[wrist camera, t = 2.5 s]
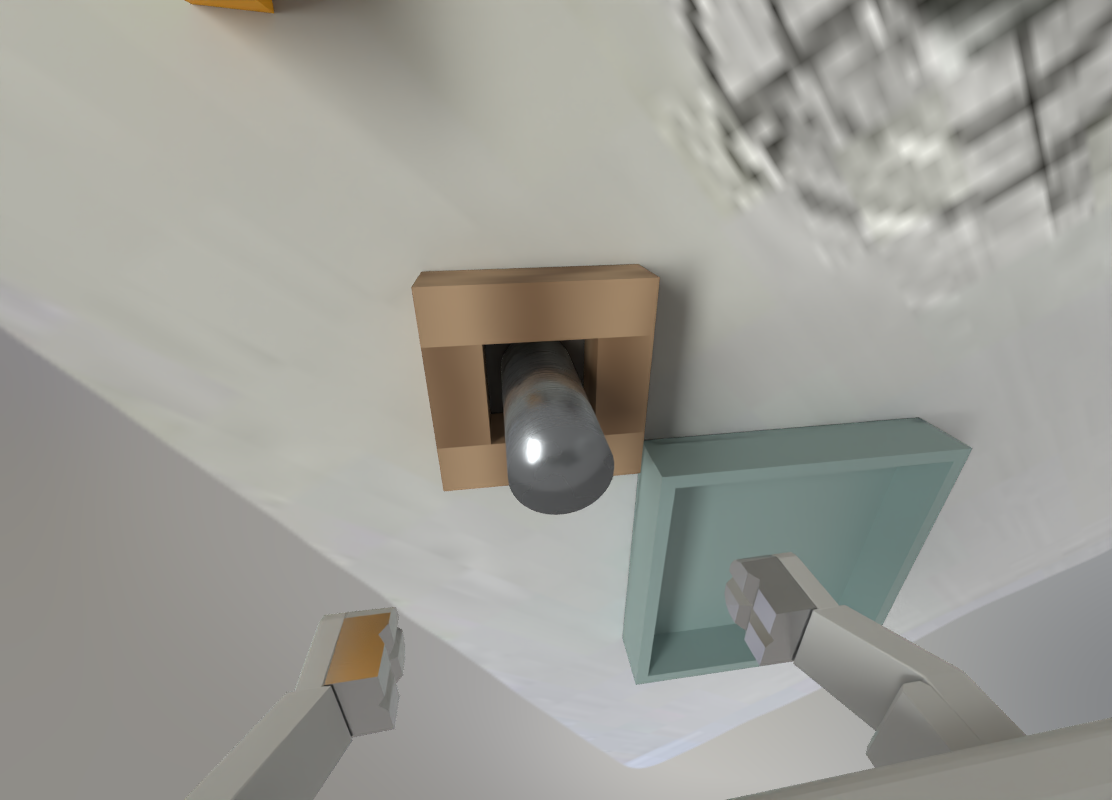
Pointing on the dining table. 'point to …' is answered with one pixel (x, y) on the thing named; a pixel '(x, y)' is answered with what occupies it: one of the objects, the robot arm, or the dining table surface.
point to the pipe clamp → (238, 4)
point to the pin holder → (531, 316)
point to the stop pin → (551, 431)
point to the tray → (775, 528)
